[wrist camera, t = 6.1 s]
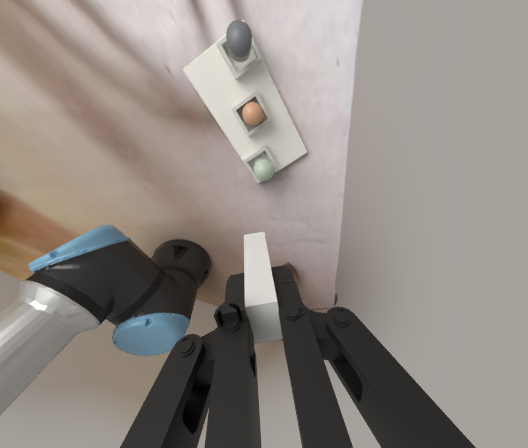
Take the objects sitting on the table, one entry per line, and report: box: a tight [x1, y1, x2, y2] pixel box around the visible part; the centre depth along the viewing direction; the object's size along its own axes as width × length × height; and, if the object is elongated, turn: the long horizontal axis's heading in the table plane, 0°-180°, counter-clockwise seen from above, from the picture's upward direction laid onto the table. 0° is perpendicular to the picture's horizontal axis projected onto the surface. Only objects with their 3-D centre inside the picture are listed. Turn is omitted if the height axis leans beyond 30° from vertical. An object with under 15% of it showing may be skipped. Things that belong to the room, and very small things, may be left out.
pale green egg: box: [253, 158, 274, 181], centre depth 40 cm, size 4×4×5 cm
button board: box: [183, 20, 307, 184], centre depth 40 cm, size 13×25×3 cm, turn 32°
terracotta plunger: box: [242, 102, 263, 125], centre depth 38 cm, size 4×4×5 cm
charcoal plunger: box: [226, 20, 252, 62], centre depth 31 cm, size 4×4×5 cm
